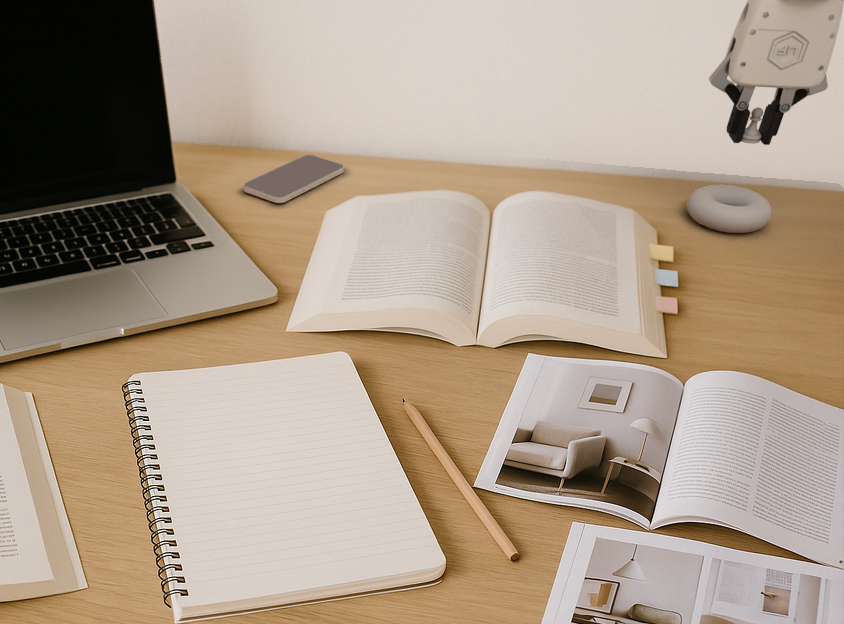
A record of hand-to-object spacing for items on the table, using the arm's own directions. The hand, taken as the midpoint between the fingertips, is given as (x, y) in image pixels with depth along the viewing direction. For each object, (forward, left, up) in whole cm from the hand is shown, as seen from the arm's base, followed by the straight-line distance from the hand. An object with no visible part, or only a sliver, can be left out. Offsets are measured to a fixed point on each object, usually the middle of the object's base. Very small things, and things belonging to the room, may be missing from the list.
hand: (748, 138), depth 102 cm
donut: (0, 0, -11) cm, 11 cm away
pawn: (0, 0, 0) cm, 0 cm away
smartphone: (+57, -3, -11) cm, 58 cm away
